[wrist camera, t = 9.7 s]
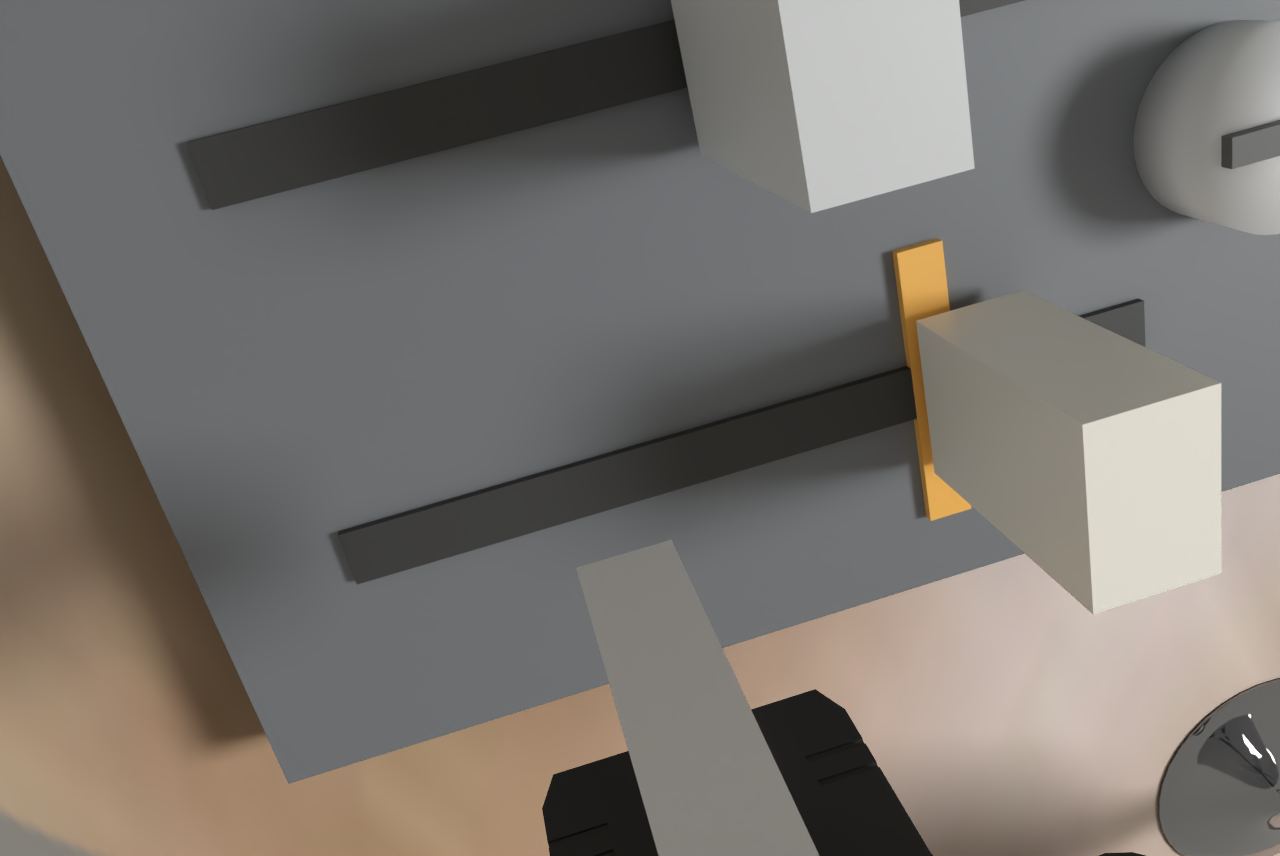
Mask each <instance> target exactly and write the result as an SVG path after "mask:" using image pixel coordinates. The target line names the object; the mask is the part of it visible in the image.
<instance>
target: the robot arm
mask: <svg viewBox="0 0 1280 856" xmlns="http://www.w3.org/2000/svg"><path fill="white" fill-rule="evenodd" d="M576 569H577V573H578V576H579V580H580V583H581V587H582V590H583V594H584V597H585V601H586V604H587V608H588V611H589V615H590V618H591V622H592V625H593V629H594V632H595V636H596V639H597V643H598V646H599V650H600V653H601V657H602V660H603V664H604V667H605V670H606V674H607V677H608V681H609V684H610V688H611V691H612V695H613V698H614V702H615V705H616V709H617V712H618V716H619V719H620V723H621V726H622V730H623V733H624V737H625V740H626V744H627V747H628V751H627V752H624V753H621V754H617V755H614V756H611V757H608V758H605V759H602V760H598V761H595V762H592V763H589V764H586V765H583V766H579V767H576V768H573V769H570V770H567V771H564V772H560V773H557V774H554V775H553V777H552V781H551V784H550V787H549V790H548V793H547V796H546V799H545V802H544V805H543V808H542V810H543V816H544V822H545V828H546V834H547V840H548V844H549V852H550V856H933V855H932V854H931V853H930V851H929V850H928V848H927V846H926V844H925V843H924V841H923V839H922V838H921V836H920V834H919V833H918V831H917V829H916V828H915V826H914V824H913V823H912V821H911V819H910V818H909V816H908V814H907V813H906V811H905V809H904V808H903V806H902V804H901V802H900V801H899V799H898V797H897V796H896V794H895V792H894V791H893V789H892V787H891V786H890V784H889V782H888V781H887V779H886V777H885V776H884V774H883V772H882V771H881V769H880V767H878V766H877V763H876V761H875V759H874V757H873V755H872V754H871V752H870V750H869V749H868V747H867V745H866V744H864V742H863V740H862V737H861V735H860V734H859V732H858V730H857V729H856V727H855V725H854V724H853V722H852V720H851V719H850V717H849V715H848V713H847V712H846V710H845V709H844V708H842V707H841V706H839V705H838V704H836V703H835V702H833V701H832V700H830V699H829V698H827V697H826V696H824V695H823V694H821V693H820V692H818V691H817V690H812V691H809V692H805V693H802V694H799V695H796V696H793V697H790V698H786V699H783V700H780V701H777V702H774V703H771V704H767V705H764V706H761V707H758V708H755V709H752V710H751V709H750V706H749V704H748V702H747V700H746V698H745V696H744V694H743V691H742V689H741V687H740V685H739V683H738V681H737V679H736V676H735V674H734V672H733V670H732V668H731V666H730V664H729V662H728V659H727V657H726V655H725V653H724V651H723V649H722V647H721V644H720V642H719V640H718V638H717V636H716V634H715V632H714V629H713V627H712V625H711V623H710V621H709V619H708V617H707V615H706V612H705V610H704V608H703V606H702V604H701V602H700V600H699V597H698V595H697V593H696V591H695V589H694V587H693V585H692V582H691V580H690V578H689V576H688V574H687V572H686V570H685V568H684V565H683V563H682V561H681V559H680V557H679V555H678V553H677V550H676V548H675V546H674V544H673V542H672V540H668V541H665V542H661V543H658V544H655V545H651V546H648V547H644V548H641V549H638V550H634V551H631V552H628V553H624V554H621V555H618V556H614V557H611V558H608V559H604V560H601V561H597V562H594V563H591V564H587V565H584V566H581V567H577V568H576ZM1099 856H1145V855H1141V854H1137V853H1133V852H1129V853H1105V854H1102V855H1099Z"/></svg>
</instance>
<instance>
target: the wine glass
mask: <svg viewBox="0 0 1280 856" xmlns="http://www.w3.org/2000/svg"><path fill="white" fill-rule="evenodd" d="M1158 816H1159V821H1160V825H1161V830H1162V832H1163V834H1164V836H1165V838H1166V840H1167V841H1168V843H1169V844H1170V845H1171V846H1172V847H1173V848H1174V849H1175V850H1176V852H1178V853H1179V854H1181V855H1182V856H1273V855H1275V854H1277V853H1280V679H1276V680H1273V681H1270V682H1266V683H1263V684H1260V685H1257V686H1255V687H1253V688H1251V689H1249V690H1247V691H1244V692H1242V693H1240V694H1238V695H1237V696H1235V697H1234V698H1232V699H1230V700H1229V701H1227V702H1226V703H1224V704H1222V705H1221V706H1220V707H1218V708H1217V709H1216V710H1215V711H1213V712H1212V713H1211V714H1210V715H1209V716H1207V717H1206V718H1205V719H1204V720H1203V721H1202V722H1201V723H1200V724H1199V725H1198V726H1197V727H1196V728H1195V729H1194V730H1193V731H1192V732H1191V733H1190V734H1189V736H1188V737H1187V738H1186V740H1185V741H1184V742H1183V744H1182V745H1181V746H1180V748H1179V749H1178V750H1177V752H1176V754H1175V756H1174V757H1173V759H1172V761H1171V763H1170V764H1169V766H1168V769H1167V771H1166V774H1165V776H1164V779H1163V782H1162V785H1161V790H1160V795H1159V800H1158Z"/></svg>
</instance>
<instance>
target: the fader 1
mask: <svg viewBox="0 0 1280 856" xmlns="http://www.w3.org/2000/svg"><path fill="white" fill-rule="evenodd" d="M671 4H672V10H673V15H674V20H675V25H676V30H677V35H678V40H679V45H680V50H681V56H682V61H683V66H684V71H685V76H686V81H687V86H688V91H689V97H690V102H691V107H692V112H693V117H694V122H695V127H696V132H697V138H698V143H699V148H700V153H701V156H703V157H705V158H707V159H709V160H710V161H712V162H714V163H716V164H718V165H720V166H722V167H724V168H726V169H728V170H730V171H732V172H733V173H735V174H737V175H739V176H741V177H743V178H745V179H747V180H749V181H751V182H753V183H755V184H756V185H758V186H760V187H762V188H764V189H766V190H768V191H770V192H772V193H774V194H776V195H777V196H779V197H781V198H783V199H785V200H787V201H789V202H791V203H793V204H795V205H797V206H799V207H800V208H802V209H804V210H806V211H808V212H810V213H814V212H817V211H821V210H825V209H828V208H832V207H836V206H839V205H843V204H847V203H850V202H854V201H858V200H861V199H865V198H869V197H872V196H876V195H880V194H883V193H887V192H891V191H894V190H898V189H902V188H905V187H909V186H913V185H916V184H920V183H924V182H927V181H931V180H935V179H938V178H942V177H946V176H949V175H953V174H957V173H960V172H964V171H968V170H971V169H975V167H974V156H973V145H972V134H971V124H970V113H969V102H968V91H967V81H966V70H965V59H964V48H963V38H962V27H961V16H960V5H959V0H671Z"/></svg>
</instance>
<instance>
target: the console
mask: <svg viewBox="0 0 1280 856" xmlns="http://www.w3.org/2000/svg"><path fill="white" fill-rule="evenodd" d="M959 5H960V16H961V27H962V38H963V48H964V59H965V70H966V81H967V91H968V102H969V113H970V124H971V134H972V145H973V156H974V167H975V169H971V170H968V171H964V172H960V173H957V174H953V175H949V176H946V177H942V178H938V179H935V180H931V181H927V182H924V183H920V184H916V185H913V186H909V187H905V188H902V189H898V190H894V191H891V192H887V193H883V194H880V195H876V196H872V197H869V198H865V199H861V200H858V201H854V202H850V203H847V204H843V205H839V206H836V207H832V208H828V209H825V210H821V211H817V212H814V213H810V212H808V211H806V210H804V209H802V208H800V207H799V206H797V205H795V204H793V203H791V202H789V201H787V200H785V199H783V198H781V197H779V196H777V195H776V194H774V193H772V192H770V191H768V190H766V189H764V188H762V187H760V186H758V185H756V184H755V183H753V182H751V181H749V180H747V179H745V178H743V177H741V176H739V175H737V174H735V173H733V172H732V171H730V170H728V169H726V168H724V167H722V166H720V165H718V164H716V163H714V162H712V161H710V160H709V159H707V158H705V157H703V156H701V153H700V148H699V143H698V138H697V132H696V127H695V122H694V117H693V112H692V107H691V102H690V97H689V91H688V86H687V81H686V76H685V71H684V66H683V61H682V56H681V50H680V45H679V40H678V35H677V30H676V25H675V20H674V15H673V10H672V4H671V0H0V156H1V158H2V160H3V162H4V164H5V166H6V169H7V171H8V173H9V175H10V177H11V180H12V182H13V184H14V186H15V188H16V190H17V193H18V195H19V197H20V199H21V201H22V204H23V206H24V208H25V210H26V212H27V214H28V217H29V219H30V221H31V223H32V225H33V228H34V230H35V232H36V234H37V236H38V238H39V241H40V243H41V245H42V247H43V249H44V251H45V254H46V256H47V258H48V260H49V262H50V265H51V267H52V269H53V271H54V273H55V275H56V278H57V280H58V282H59V284H60V286H61V289H62V291H63V293H64V295H65V297H66V299H67V302H68V304H69V306H70V308H71V310H72V313H73V315H74V317H75V319H76V321H77V323H78V326H79V328H80V330H81V332H82V334H83V337H84V339H85V341H86V343H87V345H88V347H89V350H90V352H91V354H92V356H93V358H94V361H95V363H96V365H97V367H98V369H99V371H100V374H101V376H102V378H103V380H104V382H105V385H106V387H107V389H108V391H109V393H110V395H111V398H112V400H113V402H114V404H115V406H116V408H117V411H118V413H119V415H120V417H121V419H122V422H123V424H124V426H125V428H126V430H127V432H128V435H129V437H130V439H131V441H132V443H133V446H134V448H135V450H136V452H137V454H138V456H139V459H140V461H141V463H142V465H143V467H144V470H145V472H146V474H147V476H148V478H149V480H150V483H151V485H152V487H153V489H154V491H155V494H156V496H157V498H158V500H159V502H160V504H161V507H162V509H163V511H164V513H165V515H166V518H167V520H168V522H169V524H170V526H171V528H172V531H173V533H174V535H175V537H176V539H177V542H178V544H179V546H180V548H181V550H182V552H183V555H184V557H185V559H186V561H187V563H188V565H189V568H190V570H191V572H192V574H193V576H194V579H195V581H196V583H197V585H198V587H199V589H200V592H201V594H202V596H203V598H204V600H205V603H206V605H207V607H208V609H209V611H210V613H211V616H212V618H213V620H214V622H215V624H216V627H217V629H218V631H219V633H220V635H221V637H222V640H223V642H224V644H225V646H226V648H227V651H228V653H229V655H230V657H231V659H232V661H233V664H234V666H235V668H236V670H237V672H238V675H239V677H240V679H241V681H242V683H243V685H244V688H245V690H246V692H247V694H248V696H249V699H250V701H251V703H252V705H253V707H254V709H255V712H256V714H257V716H258V718H259V720H260V722H261V725H262V727H263V729H264V731H265V733H266V736H267V738H268V740H269V742H270V744H271V746H272V749H273V751H274V753H275V755H276V757H277V760H278V762H279V764H280V766H281V768H282V770H283V773H284V775H285V777H286V779H287V781H288V784H289V783H292V782H296V781H299V780H302V779H305V778H308V777H312V776H315V775H318V774H321V773H324V772H328V771H331V770H334V769H337V768H340V767H344V766H347V765H350V764H353V763H356V762H359V761H363V760H366V759H369V758H372V757H375V756H379V755H382V754H385V753H388V752H391V751H395V750H398V749H401V748H404V747H407V746H411V745H414V744H417V743H420V742H423V741H427V740H430V739H433V738H436V737H439V736H443V735H446V734H449V733H452V732H455V731H459V730H462V729H465V728H468V727H471V726H475V725H478V724H481V723H484V722H487V721H491V720H494V719H497V718H500V717H503V716H507V715H510V714H513V713H516V712H519V711H522V710H526V709H529V708H532V707H535V706H538V705H542V704H545V703H548V702H551V701H554V700H558V699H561V698H564V697H567V696H570V695H574V694H577V693H580V692H583V691H586V690H590V689H593V688H596V687H599V686H602V685H606V684H609V681H608V677H607V674H606V670H605V667H604V664H603V660H602V657H601V653H600V650H599V646H598V643H597V639H596V636H595V632H594V629H593V625H592V622H591V618H590V615H589V611H588V608H587V604H586V601H585V597H584V594H583V590H582V587H581V583H580V580H579V576H578V573H577V569H576V568H577V567H581V566H584V565H587V564H591V563H594V562H597V561H601V560H604V559H608V558H611V557H614V556H618V555H621V554H624V553H628V552H631V551H634V550H638V549H641V548H644V547H648V546H651V545H655V544H658V543H661V542H665V541H668V540H672V542H673V544H674V546H675V548H676V550H677V553H678V555H679V557H680V559H681V561H682V563H683V565H684V568H685V570H686V572H687V574H688V576H689V578H690V580H691V582H692V585H693V587H694V589H695V591H696V593H697V595H698V597H699V600H700V602H701V604H702V606H703V608H704V610H705V612H706V615H707V617H708V619H709V621H710V623H711V625H712V627H713V629H714V632H715V634H716V636H717V638H718V640H719V642H720V644H721V647H722V648H724V647H727V646H730V645H733V644H737V643H740V642H743V641H746V640H749V639H753V638H756V637H759V636H762V635H765V634H769V633H772V632H775V631H778V630H781V629H785V628H788V627H791V626H794V625H797V624H801V623H804V622H807V621H810V620H813V619H817V618H820V617H823V616H826V615H829V614H832V613H836V612H839V611H842V610H845V609H848V608H852V607H855V606H858V605H861V604H864V603H868V602H871V601H874V600H877V599H880V598H884V597H887V596H890V595H893V594H896V593H900V592H903V591H906V590H909V589H912V588H916V587H919V586H922V585H925V584H928V583H932V582H935V581H938V580H941V579H944V578H948V577H951V576H954V575H957V574H960V573H964V572H967V571H970V570H973V569H976V568H980V567H983V566H986V565H989V564H992V563H995V562H999V561H1002V560H1005V559H1008V558H1011V557H1015V556H1018V555H1021V554H1024V552H1023V551H1022V550H1020V549H1019V548H1018V547H1017V546H1016V545H1015V544H1014V543H1013V542H1012V541H1010V540H1009V539H1008V538H1007V537H1006V536H1005V535H1004V534H1003V533H1001V532H1000V531H999V530H998V529H997V528H996V527H995V526H994V525H992V524H991V523H990V522H989V521H988V520H987V519H986V518H985V517H983V516H982V515H981V514H980V513H979V512H978V511H977V510H976V509H975V508H973V507H972V506H971V505H970V504H969V503H968V502H967V501H966V500H964V499H963V498H962V497H961V496H960V495H959V494H958V493H957V492H955V491H954V490H953V489H952V488H951V487H950V486H949V485H948V484H946V483H945V482H944V481H943V480H942V479H941V478H940V477H939V476H937V475H936V474H935V473H934V464H933V456H932V448H931V440H930V432H929V424H928V415H927V407H926V399H925V391H924V383H923V374H922V366H921V358H920V350H919V342H918V333H917V325H916V321H917V320H920V319H924V318H927V317H931V316H934V315H938V314H941V313H945V312H948V311H952V310H955V309H959V308H962V307H965V306H969V305H972V304H976V303H979V302H983V301H986V300H990V299H993V298H997V297H1000V296H1004V295H1007V294H1011V293H1014V292H1018V291H1021V290H1024V291H1026V292H1028V293H1030V294H1032V295H1035V296H1037V297H1039V298H1041V299H1043V300H1045V301H1047V302H1049V303H1052V304H1054V305H1056V306H1058V307H1060V308H1062V309H1064V310H1067V311H1069V312H1071V313H1073V314H1075V315H1077V316H1079V317H1082V318H1084V319H1086V320H1088V321H1090V322H1092V323H1094V324H1097V325H1099V326H1101V327H1103V328H1105V329H1107V330H1109V331H1111V332H1114V333H1116V334H1118V335H1120V336H1122V337H1124V338H1126V339H1129V340H1131V341H1133V342H1135V343H1137V344H1139V345H1141V346H1144V347H1146V348H1148V349H1150V350H1152V351H1154V352H1156V353H1159V354H1161V355H1163V356H1165V357H1167V358H1169V359H1171V360H1173V361H1176V362H1178V363H1180V364H1182V365H1184V366H1186V367H1188V368H1191V369H1193V370H1195V371H1197V372H1199V373H1201V374H1203V375H1206V376H1208V377H1210V378H1212V379H1214V380H1216V381H1218V382H1221V492H1222V491H1226V490H1229V489H1232V488H1235V487H1238V486H1242V485H1245V484H1248V483H1251V482H1254V481H1258V480H1261V479H1264V478H1267V477H1270V476H1274V475H1277V474H1280V0H959Z"/></svg>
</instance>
